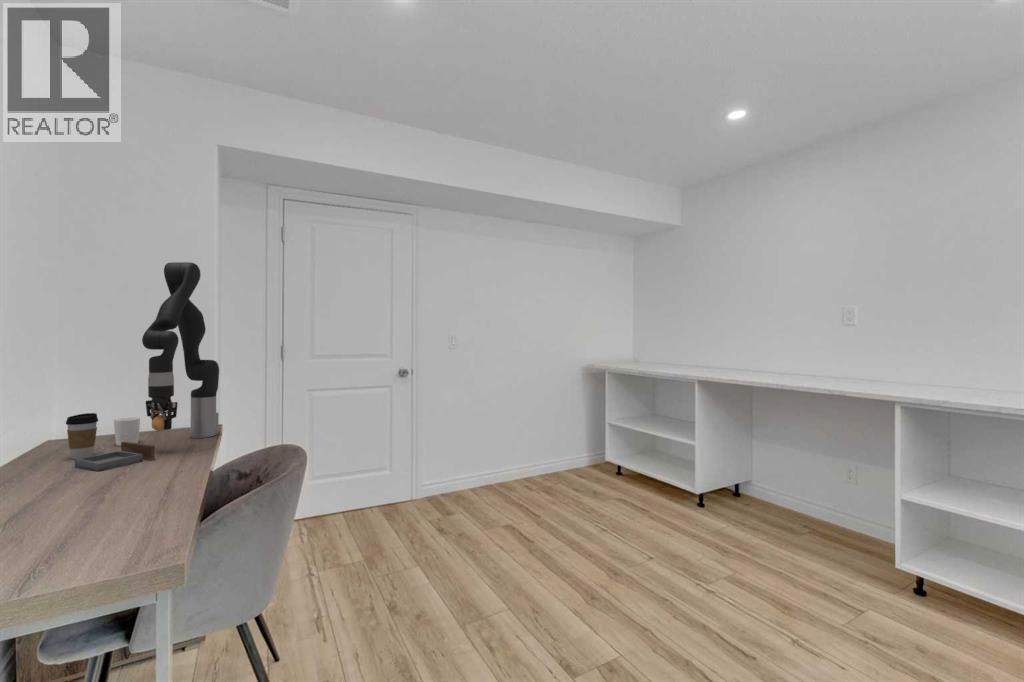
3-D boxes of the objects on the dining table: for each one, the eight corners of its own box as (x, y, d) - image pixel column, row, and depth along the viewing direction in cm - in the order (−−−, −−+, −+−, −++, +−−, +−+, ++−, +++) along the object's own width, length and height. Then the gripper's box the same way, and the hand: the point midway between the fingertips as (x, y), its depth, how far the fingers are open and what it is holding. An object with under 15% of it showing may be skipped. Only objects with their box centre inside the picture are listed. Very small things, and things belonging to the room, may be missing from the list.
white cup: (118, 442, 180) (118, 417, 180) (142, 440, 184) (142, 416, 184) (110, 446, 173) (110, 421, 173) (136, 445, 177) (136, 420, 176)
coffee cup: (104, 454, 163) (104, 413, 163) (80, 460, 154) (80, 417, 154) (84, 453, 164) (84, 412, 164) (58, 459, 155) (58, 416, 155)
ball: (164, 428, 170) (164, 413, 170) (175, 429, 168) (175, 414, 168) (147, 432, 164) (147, 415, 164) (158, 433, 162) (158, 417, 162)
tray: (119, 457, 159) (119, 450, 159) (142, 461, 155) (142, 454, 155) (74, 467, 147) (74, 459, 147) (98, 471, 143) (98, 463, 143)
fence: (125, 454, 162) (125, 441, 162) (154, 459, 157) (154, 445, 157) (121, 455, 161) (121, 442, 161) (150, 460, 156) (150, 446, 156)
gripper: (185, 384, 167) (185, 428, 167) (158, 381, 172) (159, 425, 172) (163, 386, 160) (164, 432, 160) (137, 384, 165) (137, 429, 165)
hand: (161, 428), depth 166 cm, fingers closed on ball, 6 cm apart
